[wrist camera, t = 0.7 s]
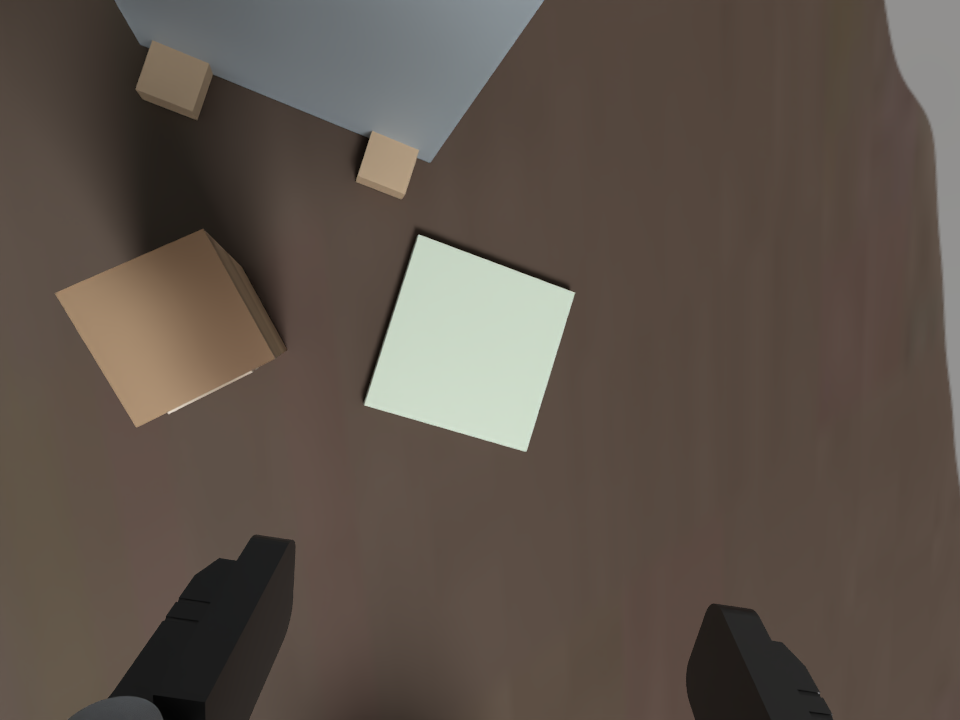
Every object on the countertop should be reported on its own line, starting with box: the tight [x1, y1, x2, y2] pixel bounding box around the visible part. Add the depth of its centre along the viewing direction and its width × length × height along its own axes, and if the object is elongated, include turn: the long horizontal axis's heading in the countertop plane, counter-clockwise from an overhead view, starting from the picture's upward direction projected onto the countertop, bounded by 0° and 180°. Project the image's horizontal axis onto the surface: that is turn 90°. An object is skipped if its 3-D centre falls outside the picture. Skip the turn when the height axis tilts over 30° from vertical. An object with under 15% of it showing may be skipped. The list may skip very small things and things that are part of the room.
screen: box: [114, 0, 544, 199], centre depth 22 cm, size 14×6×16 cm, turn 73°
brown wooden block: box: [55, 229, 287, 428], centre depth 24 cm, size 4×5×11 cm
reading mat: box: [363, 235, 575, 452], centre depth 32 cm, size 9×9×1 cm
